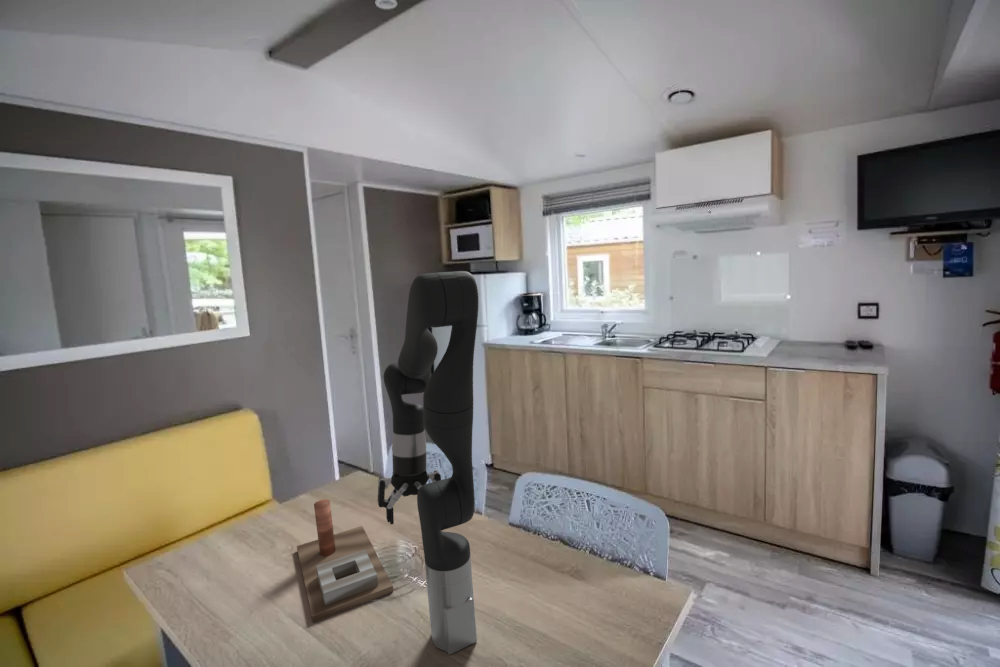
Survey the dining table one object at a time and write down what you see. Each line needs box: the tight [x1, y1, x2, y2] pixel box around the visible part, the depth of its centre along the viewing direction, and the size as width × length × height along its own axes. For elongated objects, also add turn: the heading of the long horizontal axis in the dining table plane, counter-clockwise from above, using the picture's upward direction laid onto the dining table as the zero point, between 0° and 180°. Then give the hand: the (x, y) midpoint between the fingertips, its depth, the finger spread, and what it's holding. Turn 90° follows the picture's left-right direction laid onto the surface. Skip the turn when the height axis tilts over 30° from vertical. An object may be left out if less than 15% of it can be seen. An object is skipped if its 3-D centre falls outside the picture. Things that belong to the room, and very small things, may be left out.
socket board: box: [296, 525, 394, 623], centre depth 121 cm, size 32×18×4 cm, turn 29°
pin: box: [313, 498, 336, 556], centre depth 126 cm, size 4×4×14 cm
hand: (410, 519), depth 107 cm, fingers open, 8 cm apart
